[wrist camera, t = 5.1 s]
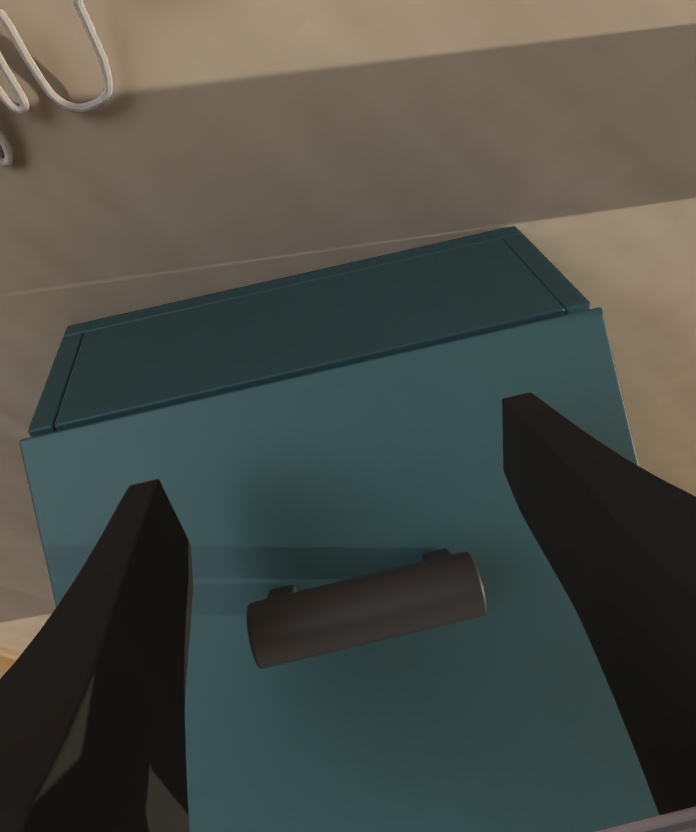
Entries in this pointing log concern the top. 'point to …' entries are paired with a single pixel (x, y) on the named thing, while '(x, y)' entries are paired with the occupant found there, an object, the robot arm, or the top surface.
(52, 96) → the headphones
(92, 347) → the bin
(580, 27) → the top surface
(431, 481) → the bin lid
